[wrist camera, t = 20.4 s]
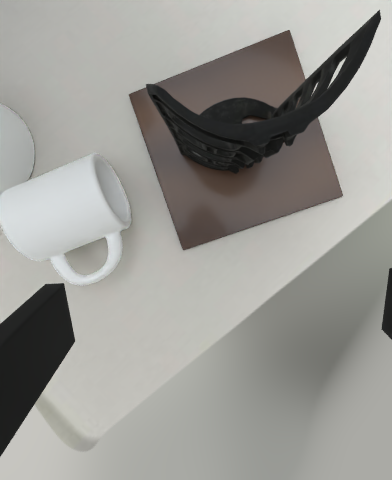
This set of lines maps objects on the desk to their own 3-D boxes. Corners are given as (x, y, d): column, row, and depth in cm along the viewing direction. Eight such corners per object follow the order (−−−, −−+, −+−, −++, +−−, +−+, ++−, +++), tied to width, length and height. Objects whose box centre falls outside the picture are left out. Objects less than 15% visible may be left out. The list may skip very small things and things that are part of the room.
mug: (35, 192, 36) (-17, 185, 28) (113, 160, 35) (81, 143, 27) (74, 288, 36) (33, 308, 29) (151, 259, 35) (131, 271, 27)
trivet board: (130, 96, 34) (128, 94, 34) (288, 32, 32) (289, 29, 32) (183, 249, 35) (183, 250, 34) (341, 196, 33) (343, 195, 33)
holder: (261, 76, 32) (342, -98, 12) (294, 142, 33) (418, 76, 13) (169, 132, 33) (112, 55, 14) (204, 194, 34) (196, 204, 15)
